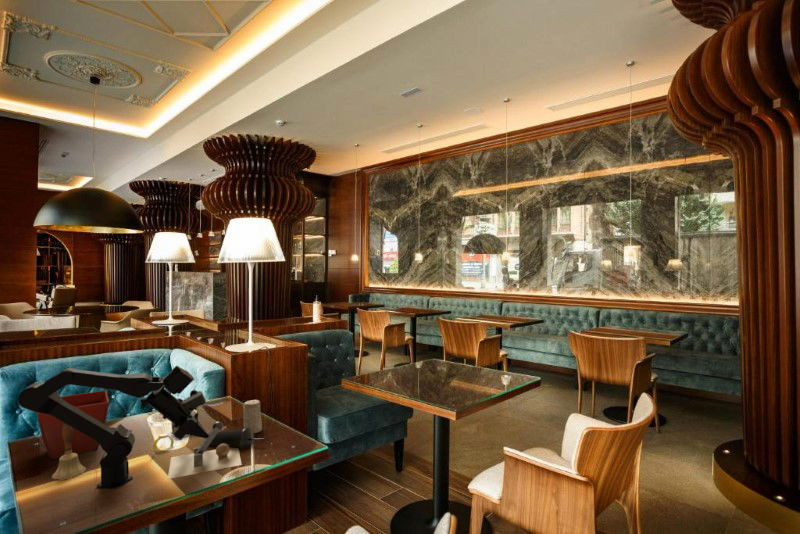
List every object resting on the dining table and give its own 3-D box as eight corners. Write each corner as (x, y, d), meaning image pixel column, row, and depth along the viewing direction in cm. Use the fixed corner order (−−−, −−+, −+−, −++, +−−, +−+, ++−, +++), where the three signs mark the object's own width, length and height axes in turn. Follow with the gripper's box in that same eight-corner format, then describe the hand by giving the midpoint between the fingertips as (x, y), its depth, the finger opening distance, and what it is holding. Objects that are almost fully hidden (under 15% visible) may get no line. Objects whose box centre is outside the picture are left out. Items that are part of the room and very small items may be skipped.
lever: (192, 456, 134) (216, 422, 136) (192, 451, 137) (216, 418, 140) (201, 460, 135) (225, 426, 137) (201, 455, 138) (224, 422, 141)
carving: (256, 429, 167) (255, 397, 167) (265, 434, 162) (265, 401, 162) (240, 433, 163) (239, 401, 163) (249, 439, 158) (248, 405, 158)
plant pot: (107, 434, 165) (106, 389, 165) (110, 450, 150) (109, 401, 150) (42, 447, 154) (41, 399, 154) (37, 466, 139) (36, 413, 139)
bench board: (167, 484, 126) (167, 466, 126) (171, 462, 140) (170, 446, 140) (241, 469, 134) (241, 453, 134) (237, 450, 148) (237, 435, 148)
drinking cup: (209, 456, 150) (262, 457, 146) (201, 441, 147) (255, 440, 142) (221, 438, 157) (272, 438, 152) (213, 423, 153) (265, 422, 149)
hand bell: (58, 483, 128) (57, 428, 128) (46, 476, 132) (45, 423, 132) (91, 471, 135) (89, 419, 135) (78, 465, 139) (77, 414, 139)
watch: (170, 449, 151) (171, 431, 151) (174, 451, 149) (175, 433, 149) (151, 453, 146) (152, 435, 147) (155, 456, 145) (156, 437, 145)
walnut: (216, 461, 136) (215, 447, 136) (215, 456, 140) (215, 442, 140) (229, 459, 138) (229, 445, 138) (229, 454, 142) (228, 440, 142)
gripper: (188, 392, 127) (229, 425, 131) (189, 377, 144) (225, 407, 148) (156, 423, 123) (199, 456, 128) (162, 404, 140) (199, 434, 145)
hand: (207, 436), depth 137 cm, fingers closed, pressing on lever
